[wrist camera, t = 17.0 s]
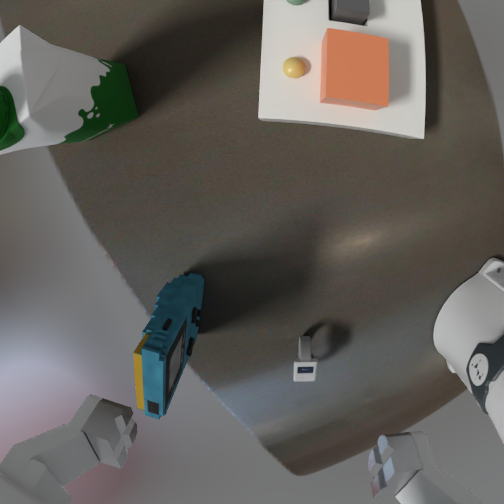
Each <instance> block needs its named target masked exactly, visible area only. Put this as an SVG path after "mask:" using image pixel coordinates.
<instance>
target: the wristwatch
mask: <svg viewBox="0 0 504 504" xmlns="http://www.w3.org/2000/svg"><path fill="white" fill-rule="evenodd" d="M317 364H318V359H316V358H311V338H310V336H300V337H299V357H298V359H295V360H294V379H293V380H294V381H315V380H316V375H317Z"/></svg>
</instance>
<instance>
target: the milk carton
mask: <svg viewBox="0 0 504 504" xmlns="http://www.w3.org/2000/svg"><path fill="white" fill-rule="evenodd" d="M138 117H139V115H138V112H137V108H136V104H135V101H134V97H133V93H132V89H131V85H130V81H129V77H128V73H127V69H126V65H125V64H121V63H116V62H112V61H107V60H102V59H97V58H94V57H91V56H88V55H85V54H82V53H78V52H75V51H72V50H68V49H65V48H61V47H58V46H54V45H51V44H49V43H48V42H46V41H44V40H43V39H41V38H40V37H38V36H37V35H35V34H33V33H32V32H30V31H29V30H27V29H25V28H24V27H22V26H21V25H19V26H18V27H17V28H16V29H15V30H14V31H13V32H11V33H10V34H9V35H8V36H7V37H6V38H5V39H4V40H3V41H2V42H1V43H0V154H4V153H8V152H12V151H15V150H20V149H25V148H31V147H38V146H46V145H54V144H62V143H72V142H82V141H87V140H92V139H94V138H96V137H98V136H100V135H102V134H104V133H106V132H108V131H110V130H112V129H114V128H116V127H119V126H121V125H123V124H125V123H127V122H129V121H132V120H134V119H136V118H138Z"/></svg>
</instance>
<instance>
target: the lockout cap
mask: <svg viewBox="0 0 504 504" xmlns="http://www.w3.org/2000/svg"><path fill="white" fill-rule="evenodd" d="M388 102H389V39H387V38H383V37H378V36H373V35H368V34H363V33H358V32H352V31H346V30H339V29H332V28H327V30H326V32H325V35H324V37H323V40H322V47H321V84H320V103H326V104H334V105H342V106H349V107H356V108H362V109H369V110H378V109H381V108H385V107H388Z"/></svg>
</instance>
